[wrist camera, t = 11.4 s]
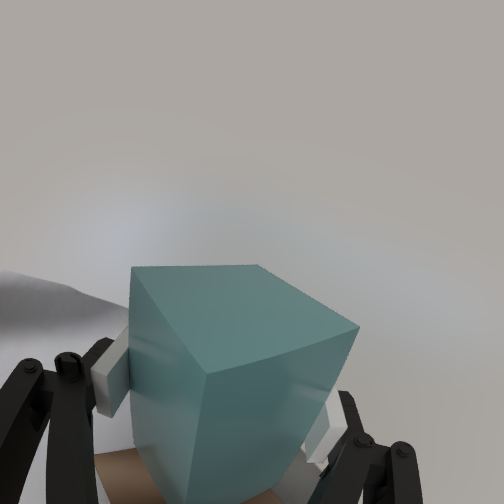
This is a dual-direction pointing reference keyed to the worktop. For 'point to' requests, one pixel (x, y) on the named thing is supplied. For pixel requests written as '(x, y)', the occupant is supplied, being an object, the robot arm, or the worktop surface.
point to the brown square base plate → (142, 480)
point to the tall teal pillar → (226, 377)
